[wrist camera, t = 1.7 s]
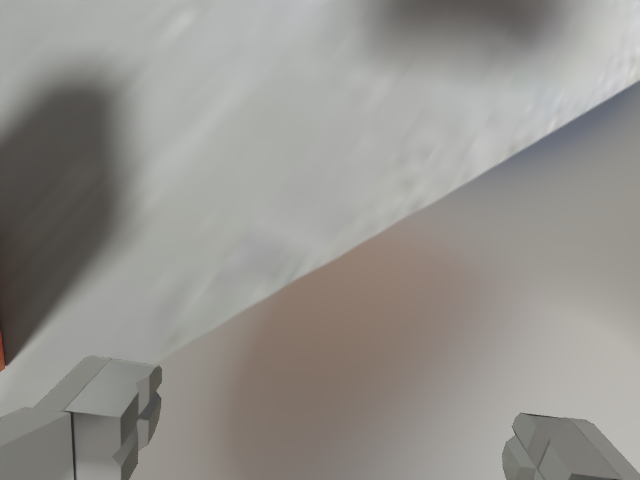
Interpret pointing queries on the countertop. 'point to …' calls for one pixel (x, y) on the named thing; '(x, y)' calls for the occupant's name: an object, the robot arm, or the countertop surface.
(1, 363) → the cracker box
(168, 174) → the countertop surface
